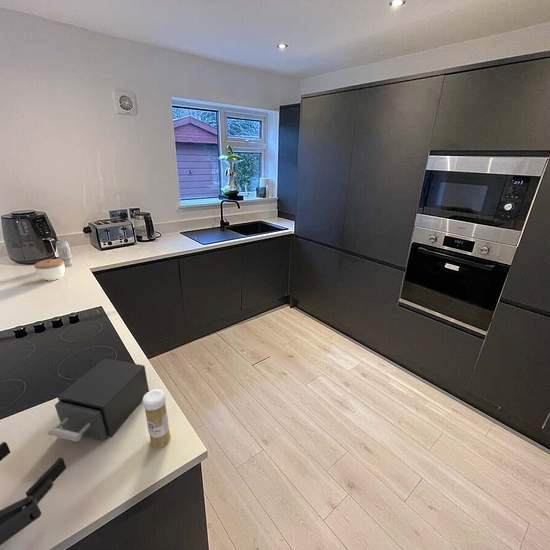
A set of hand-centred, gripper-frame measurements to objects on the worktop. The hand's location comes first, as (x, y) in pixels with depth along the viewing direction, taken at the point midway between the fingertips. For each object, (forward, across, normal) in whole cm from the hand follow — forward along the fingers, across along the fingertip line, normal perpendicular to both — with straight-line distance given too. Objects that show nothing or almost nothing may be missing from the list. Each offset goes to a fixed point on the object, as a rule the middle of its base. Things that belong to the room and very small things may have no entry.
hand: (34, 454), depth 57 cm
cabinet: (+18, 0, -7) cm, 20 cm away
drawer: (+14, 0, -6) cm, 16 cm away
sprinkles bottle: (+14, +18, -7) cm, 24 cm away
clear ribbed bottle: (+105, -104, -7) cm, 148 cm away
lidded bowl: (+86, -94, -7) cm, 127 cm away
